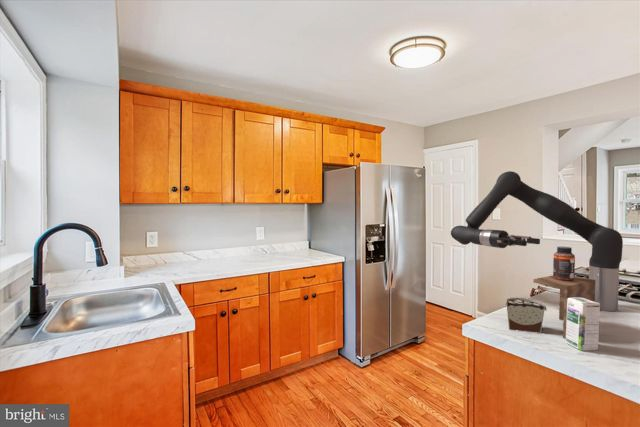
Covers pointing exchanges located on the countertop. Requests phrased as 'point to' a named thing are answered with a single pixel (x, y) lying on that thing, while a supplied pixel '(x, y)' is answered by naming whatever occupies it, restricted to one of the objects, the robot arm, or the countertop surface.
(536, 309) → the food container
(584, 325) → the syrup box
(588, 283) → the walnut cubby
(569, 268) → the supplement bottle
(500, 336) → the countertop surface
